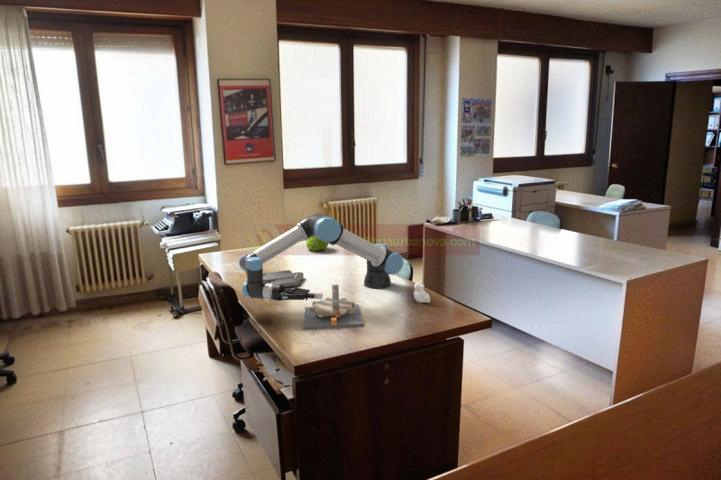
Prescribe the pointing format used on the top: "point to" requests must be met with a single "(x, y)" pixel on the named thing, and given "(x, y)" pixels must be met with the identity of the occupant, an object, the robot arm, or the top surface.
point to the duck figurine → (420, 293)
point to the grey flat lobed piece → (283, 278)
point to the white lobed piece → (332, 305)
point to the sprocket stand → (333, 320)
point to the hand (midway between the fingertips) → (321, 296)
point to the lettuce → (316, 244)
